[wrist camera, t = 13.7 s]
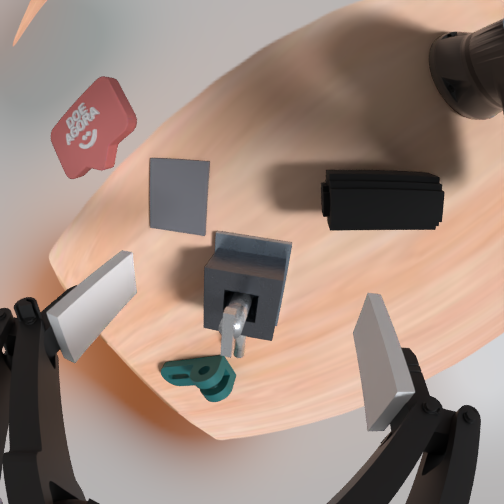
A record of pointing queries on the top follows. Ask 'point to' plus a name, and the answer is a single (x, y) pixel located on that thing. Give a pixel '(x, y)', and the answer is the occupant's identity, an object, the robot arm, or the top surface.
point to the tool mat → (179, 195)
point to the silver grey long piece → (234, 321)
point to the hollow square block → (246, 282)
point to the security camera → (381, 200)
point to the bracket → (202, 375)
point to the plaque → (93, 128)
